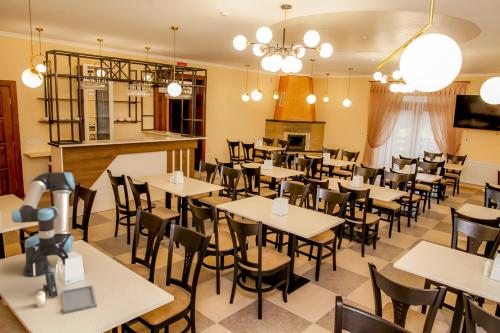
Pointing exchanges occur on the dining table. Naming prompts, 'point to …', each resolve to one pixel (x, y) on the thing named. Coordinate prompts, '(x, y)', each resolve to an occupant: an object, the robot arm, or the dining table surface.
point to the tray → (78, 299)
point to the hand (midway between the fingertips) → (48, 272)
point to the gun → (50, 283)
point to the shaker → (40, 299)
